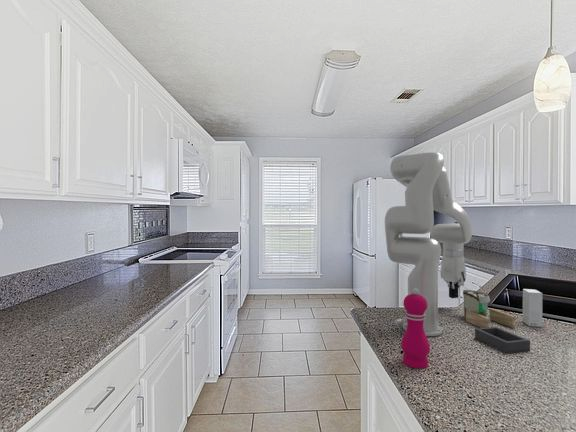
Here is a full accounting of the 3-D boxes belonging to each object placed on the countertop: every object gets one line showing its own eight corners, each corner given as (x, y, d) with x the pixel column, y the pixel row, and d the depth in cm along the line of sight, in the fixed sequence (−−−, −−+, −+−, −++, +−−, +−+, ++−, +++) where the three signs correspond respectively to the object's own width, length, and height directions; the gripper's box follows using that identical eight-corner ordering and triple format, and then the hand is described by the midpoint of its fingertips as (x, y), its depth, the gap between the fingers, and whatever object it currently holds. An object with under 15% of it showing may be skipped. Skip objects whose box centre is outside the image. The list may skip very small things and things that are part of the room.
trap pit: (506, 353, 95) (506, 342, 95) (474, 338, 107) (474, 328, 107) (530, 350, 97) (530, 340, 97) (496, 336, 109) (496, 326, 109)
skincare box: (542, 327, 117) (543, 293, 117) (528, 326, 118) (528, 292, 118) (535, 322, 123) (535, 289, 123) (522, 321, 124) (522, 288, 124)
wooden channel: (487, 330, 114) (487, 318, 114) (465, 321, 124) (465, 310, 124) (515, 327, 116) (515, 316, 116) (492, 318, 126) (492, 308, 126)
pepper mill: (427, 372, 84) (427, 292, 84) (397, 365, 88) (398, 289, 88) (432, 361, 90) (432, 287, 90) (404, 355, 94) (404, 284, 94)
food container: (497, 325, 119) (497, 297, 119) (479, 325, 119) (480, 297, 119) (478, 315, 131) (478, 289, 131) (462, 315, 131) (462, 289, 131)
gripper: (433, 251, 145) (434, 293, 146) (458, 256, 131) (458, 303, 131) (449, 250, 147) (449, 292, 147) (474, 255, 132) (475, 301, 133)
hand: (453, 297), depth 139 cm, fingers closed
